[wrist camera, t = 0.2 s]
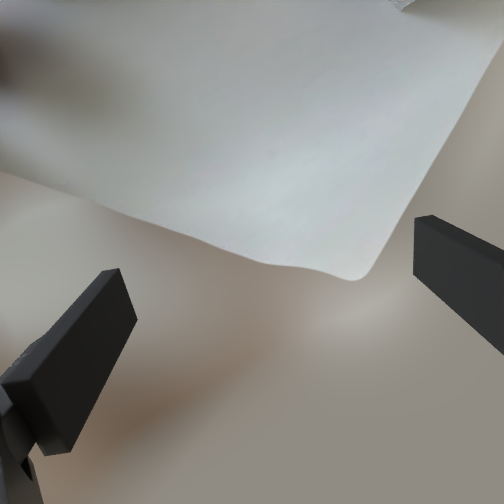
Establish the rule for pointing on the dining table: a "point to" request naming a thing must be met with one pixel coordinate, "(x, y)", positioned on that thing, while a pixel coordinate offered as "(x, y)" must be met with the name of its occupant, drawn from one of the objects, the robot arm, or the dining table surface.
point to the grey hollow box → (401, 3)
